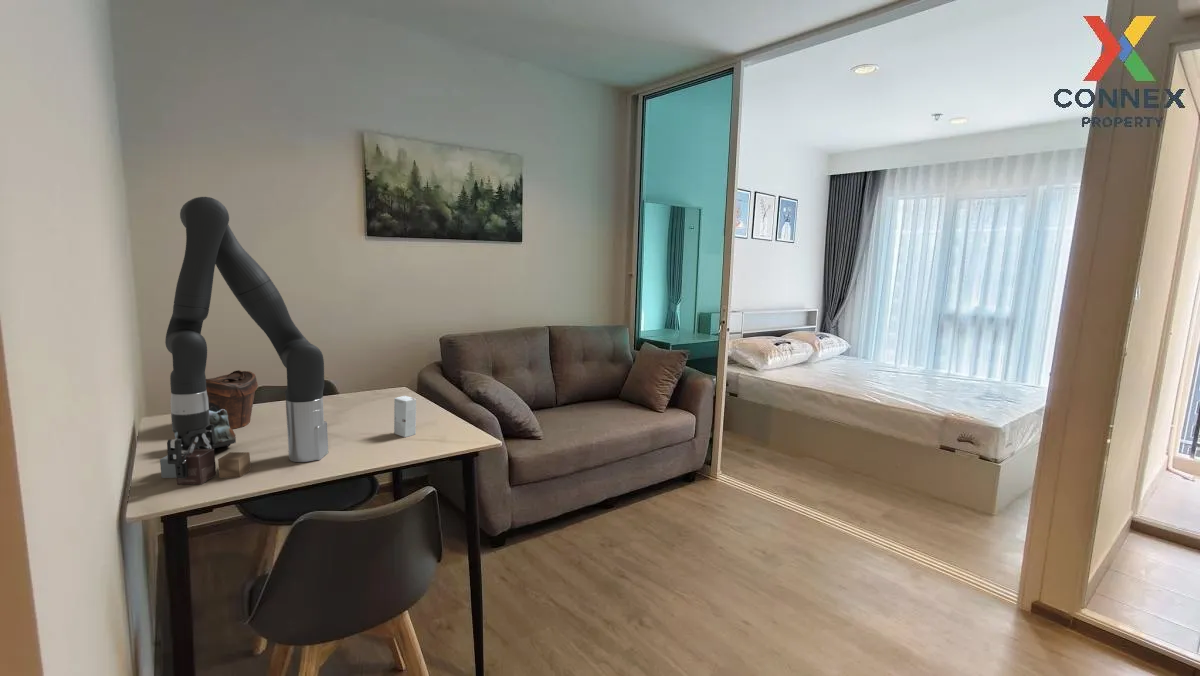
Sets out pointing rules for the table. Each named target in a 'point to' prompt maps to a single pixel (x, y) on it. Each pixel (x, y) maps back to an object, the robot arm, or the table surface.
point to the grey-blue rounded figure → (219, 428)
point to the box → (199, 467)
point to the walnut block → (234, 464)
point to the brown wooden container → (233, 396)
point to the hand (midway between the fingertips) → (194, 471)
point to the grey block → (167, 468)
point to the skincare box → (405, 416)
